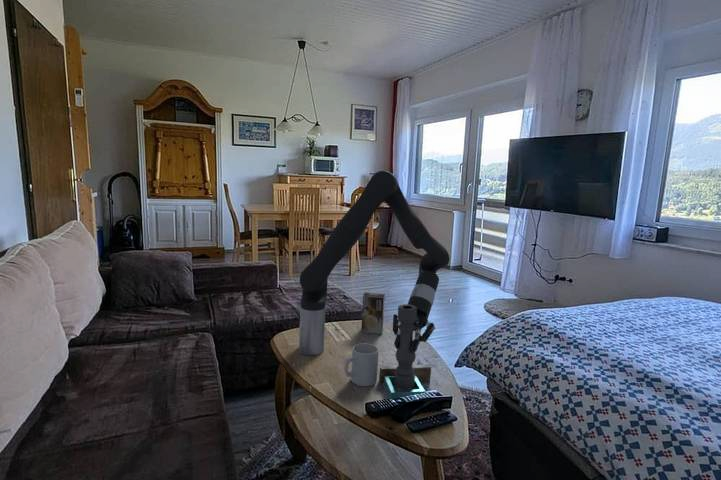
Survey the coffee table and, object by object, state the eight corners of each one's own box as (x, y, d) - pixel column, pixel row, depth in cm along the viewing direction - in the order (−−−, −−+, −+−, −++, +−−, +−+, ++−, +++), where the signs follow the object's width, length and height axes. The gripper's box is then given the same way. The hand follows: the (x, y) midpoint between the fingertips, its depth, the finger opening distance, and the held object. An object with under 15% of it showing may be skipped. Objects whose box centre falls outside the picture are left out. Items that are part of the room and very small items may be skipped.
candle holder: (414, 380, 129) (417, 304, 125) (414, 390, 122) (417, 311, 118) (395, 378, 129) (397, 303, 125) (394, 388, 123) (396, 309, 119)
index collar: (390, 403, 120) (391, 392, 120) (383, 385, 130) (383, 375, 130) (424, 401, 122) (425, 391, 121) (414, 384, 132) (414, 374, 132)
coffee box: (383, 329, 177) (385, 293, 174) (381, 334, 171) (384, 298, 168) (362, 326, 179) (364, 291, 176) (360, 332, 172) (362, 296, 170)
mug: (366, 371, 139) (368, 341, 137) (381, 382, 132) (384, 350, 130) (337, 379, 132) (338, 348, 130) (351, 392, 125) (353, 359, 123)
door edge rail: (380, 384, 131) (381, 368, 130) (378, 380, 133) (379, 365, 132) (430, 382, 134) (431, 367, 133) (428, 379, 136) (429, 364, 135)
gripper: (397, 291, 131) (379, 339, 123) (440, 299, 124) (424, 350, 116) (403, 302, 137) (386, 349, 128) (444, 311, 130) (428, 360, 121)
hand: (404, 349), depth 122 cm, fingers closed on candle holder, 4 cm apart
